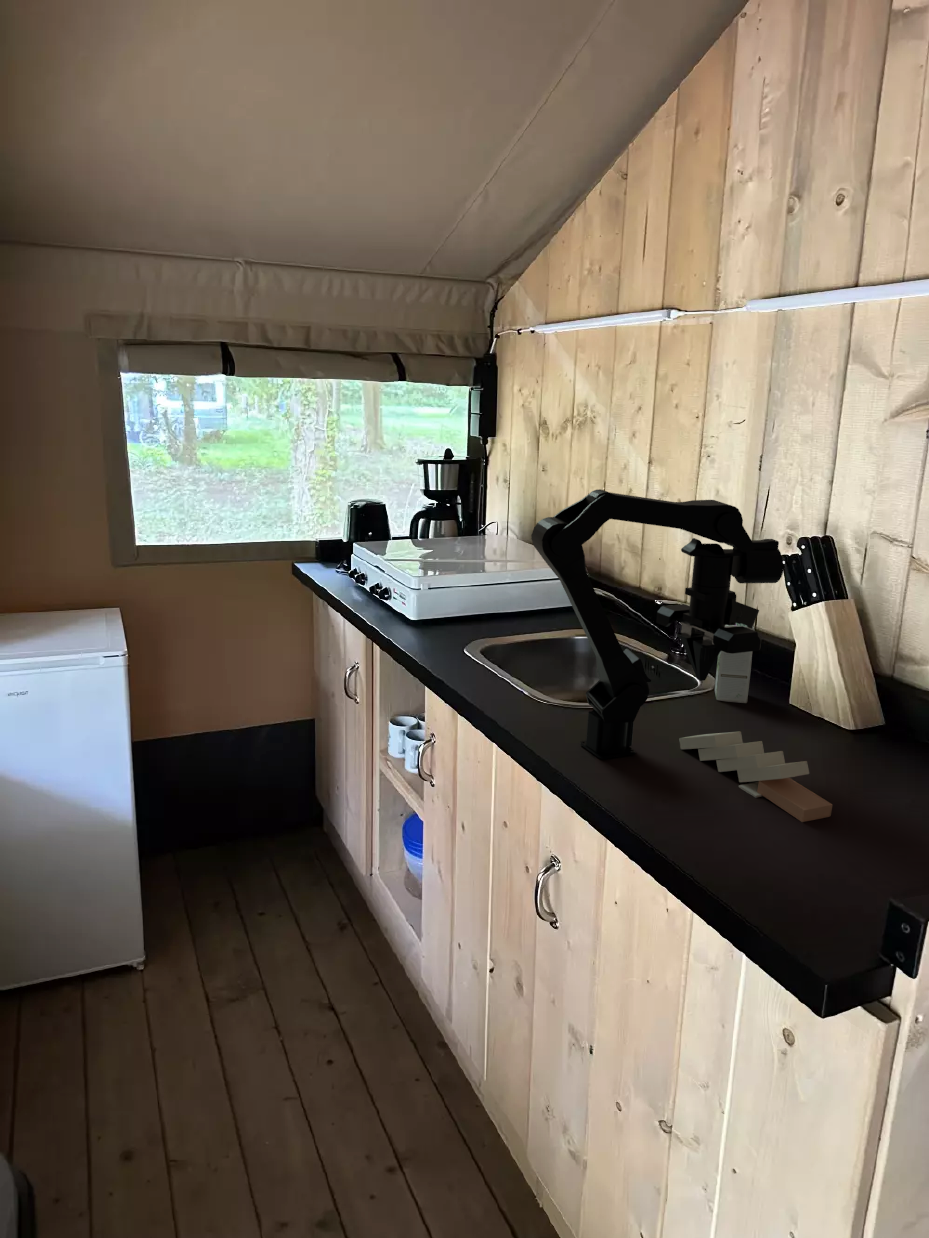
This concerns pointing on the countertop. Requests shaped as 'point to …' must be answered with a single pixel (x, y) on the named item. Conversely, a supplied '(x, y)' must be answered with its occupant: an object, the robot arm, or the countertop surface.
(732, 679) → the syrup box
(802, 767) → the domino
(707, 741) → the domino
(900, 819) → the countertop surface
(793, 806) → the domino
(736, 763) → the domino
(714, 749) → the domino
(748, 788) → the plate
